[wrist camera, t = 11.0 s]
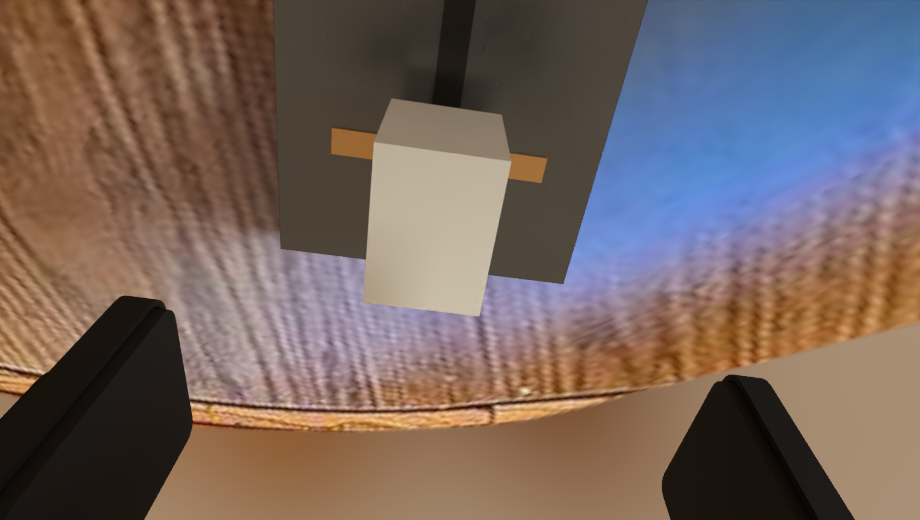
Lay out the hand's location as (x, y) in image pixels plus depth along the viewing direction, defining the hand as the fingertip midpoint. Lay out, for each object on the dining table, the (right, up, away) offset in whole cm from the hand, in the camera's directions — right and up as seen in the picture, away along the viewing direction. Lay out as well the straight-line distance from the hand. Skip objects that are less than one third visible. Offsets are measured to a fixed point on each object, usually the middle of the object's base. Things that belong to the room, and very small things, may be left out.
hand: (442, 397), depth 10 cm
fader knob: (0, +6, +10) cm, 12 cm away
